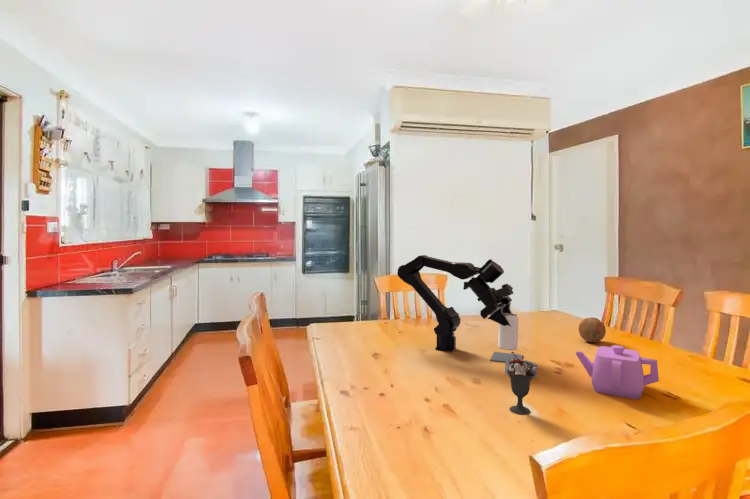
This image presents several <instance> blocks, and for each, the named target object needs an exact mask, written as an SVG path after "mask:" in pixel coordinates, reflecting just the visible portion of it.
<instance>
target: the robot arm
mask: <svg viewBox="0 0 750 499" xmlns="http://www.w3.org/2000/svg"><path fill="white" fill-rule="evenodd" d="M424 267H426V268H429V269H430V268H431V269H434V270H438V271H442V272H446V273H449V274H450V275H452V276H453V277H455V278H458V279H459V280H468V279H469V280H468V281H464V282H463V287H462V288H463V290H464V291H465V290H468V289H470V290H471V291H472V292H473V293H474V294H475V295H476V297H477V301H478V302H481V303H482V304H483V305H484V307H483V308H482V309H481V310H480V313H479V314H480V316H481V318H482V319H483V320H485V319H488V320H491V321H493V322H495V323H497V324H498V325H499V324H501V325H503V326H506V325H509V326H511V325H510V324H509V322H508V321H507V319H506V317H505V316H504V314H503V313H512V310H511V305H512V303H511V302H512V301H513V299H512V298H511V295H513V294H514V291H513V289H514V287H512V286H511V285H510V284H508V283H504V284H502V285H501V288H498V289H496V288H495V287H490V285H489V283H490V284H493V283H494V282H496V280H498V279H499V278H500V277H501V276H502V275H503V274H505V272H504V269H503V268H502V266H501V265H500V264H498V263H497V262H495V261H493V259H492V258H491V259H488V260H487V261H486V262H485V264H483V265H482V266H481V267H479V266H475V265H474V264H473V263H471V262H460V261H459V262H453V261H448V260H444V259H440V258H436V257H432V256H428V255H426V254H423V255H422V254H421V255H418V256H417V257H415V258H414V259H413V260H411V261H409V262H406V264H402V265H400V266H399V267H398V269H397V276H398V278H399V279H400V280H401V281H403V282H404V283H406V284H408V285H409V286H410V287H412V288H413V289H414V290H415V292H416V293H417V294H418V295H419V296H420V297H421V299H423V301H424V302H425V303H426V305H427V306H428V308H430V309H431V311H432V312H433V313H434V315H435V318H436V321H437V323H438V324H437V325H436V326H435V327H434V328H433V331H434V334H435V335H436V347H435V350H438V351H446V352H453V350H455V348H456V347H457V346H456V344H457V341H456V340H457V337H456V336H455V332H456V330H457V328H458V327H460V325H461V317H460V316H459V315H460V313H458V312H457V311H456V310H455V309H454V307H453V306H451V307H450V306H449V307H446V305H444V304H443V302H442V301H441V300H440V299H439V298H438V296H436V294H435V293H434V292H433V291H432V290H431V289H430V288H429V287H428V285H427V284H426V283H425V281H424V280H423V279H422V277H421V273H420V271H421V270H422V269H424ZM475 275H477V276H476V277H474V276H475ZM488 316H489V317H488Z"/></svg>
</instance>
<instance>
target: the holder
mask: <svg viewBox="0 0 750 499" xmlns="http://www.w3.org/2000/svg"><path fill="white" fill-rule="evenodd" d="M513 360H514V359H513ZM515 360H517V359H515ZM521 361H523V362H525V363H526V364H527V365H528V369H530V368H531V367H532V366H533V368H532V371H534V376H533V377H531V380H533V379H535V378H537V377H538V364H537V363H535V362H534V361H530V360H527V359H522V360H521ZM511 364H513V362H512V360H508V361H506V362H504V373H505V374H506V375H507V376H508V377H510V375H509V374H508V372H507V370H508V369H509V367H510V365H511Z"/></svg>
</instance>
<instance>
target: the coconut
mask: <svg viewBox="0 0 750 499" xmlns="http://www.w3.org/2000/svg"><path fill="white" fill-rule="evenodd" d="M606 332H607V330H606V326H605V324H604V323H603V322H602V321H601V320H600V319H599V318H597V317H587V318H586V317H585V318H584V319H583V320H581V321H580V323H579V325H578V333H579V336H580V337H581V339H583V340H584V341H585V342H587V343H598V342H601V341H602V340H603V339H604V337H606Z"/></svg>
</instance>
